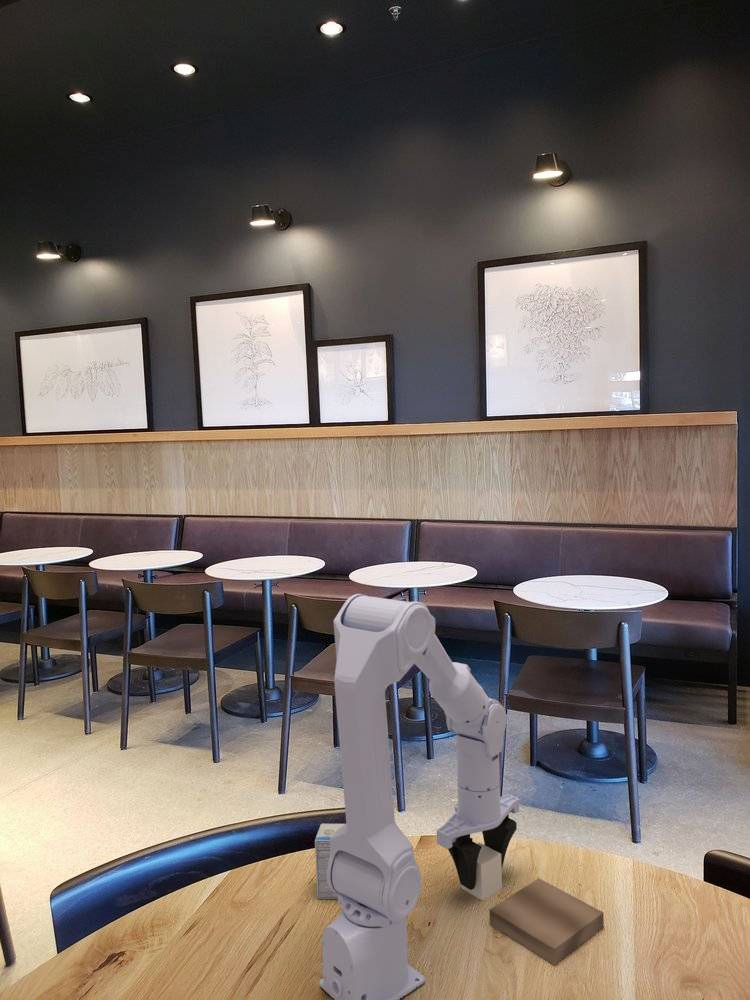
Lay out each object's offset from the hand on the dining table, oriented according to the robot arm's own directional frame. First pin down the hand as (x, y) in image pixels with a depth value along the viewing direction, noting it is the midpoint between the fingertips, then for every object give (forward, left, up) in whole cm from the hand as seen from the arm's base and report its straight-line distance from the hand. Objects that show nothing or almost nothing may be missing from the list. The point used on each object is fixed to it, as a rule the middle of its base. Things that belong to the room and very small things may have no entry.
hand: (480, 877), depth 101 cm
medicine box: (-14, +12, -2) cm, 19 cm away
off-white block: (0, 0, -2) cm, 2 cm away
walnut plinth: (0, -11, -1) cm, 11 cm away
